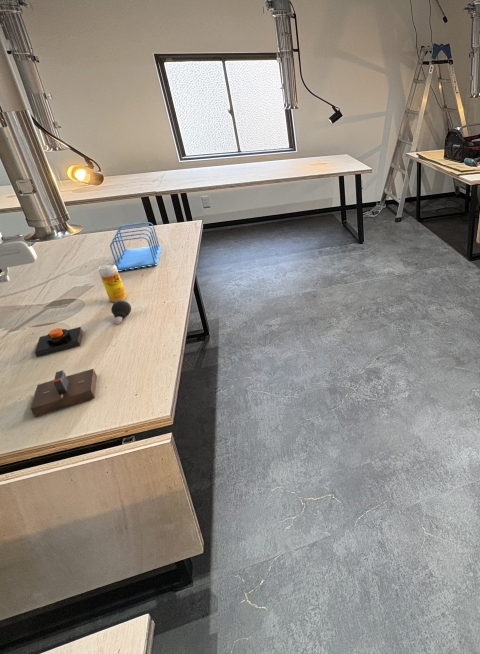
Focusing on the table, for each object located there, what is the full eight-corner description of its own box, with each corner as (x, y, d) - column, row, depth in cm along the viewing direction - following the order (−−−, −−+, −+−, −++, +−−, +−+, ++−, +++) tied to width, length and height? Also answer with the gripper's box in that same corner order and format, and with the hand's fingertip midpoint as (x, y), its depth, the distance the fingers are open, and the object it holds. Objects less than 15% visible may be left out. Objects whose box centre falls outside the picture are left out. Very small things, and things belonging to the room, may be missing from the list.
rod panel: (34, 417, 112) (29, 408, 111) (41, 392, 121) (36, 384, 119) (94, 398, 118) (90, 389, 117) (96, 376, 127) (93, 368, 125)
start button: (49, 339, 139) (47, 335, 138) (51, 334, 142) (49, 330, 141) (62, 336, 140) (60, 332, 139) (64, 331, 143) (62, 327, 142)
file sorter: (157, 266, 198) (148, 236, 191) (116, 273, 192) (105, 242, 185) (161, 247, 219) (153, 220, 212) (124, 253, 213) (115, 225, 206)
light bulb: (105, 318, 149) (111, 297, 155) (109, 328, 153) (114, 307, 160) (126, 318, 151) (131, 297, 158) (128, 328, 155) (133, 307, 162)
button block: (37, 357, 136) (32, 347, 134) (42, 342, 144) (37, 332, 142) (80, 346, 141) (76, 336, 139) (82, 331, 149) (78, 322, 147)
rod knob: (61, 382, 120) (55, 371, 118) (68, 380, 121) (63, 369, 119) (58, 394, 116) (52, 382, 114) (66, 391, 116) (60, 380, 114)
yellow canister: (119, 303, 167) (107, 270, 160) (106, 302, 168) (94, 269, 161) (130, 295, 172) (118, 263, 166) (117, 294, 173) (105, 262, 167)
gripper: (28, 229, 127) (46, 269, 133) (-60, 243, 118) (-37, 285, 124) (24, 236, 122) (43, 277, 128) (-68, 251, 113) (-43, 294, 119)
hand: (3, 281), depth 126 cm, fingers closed
